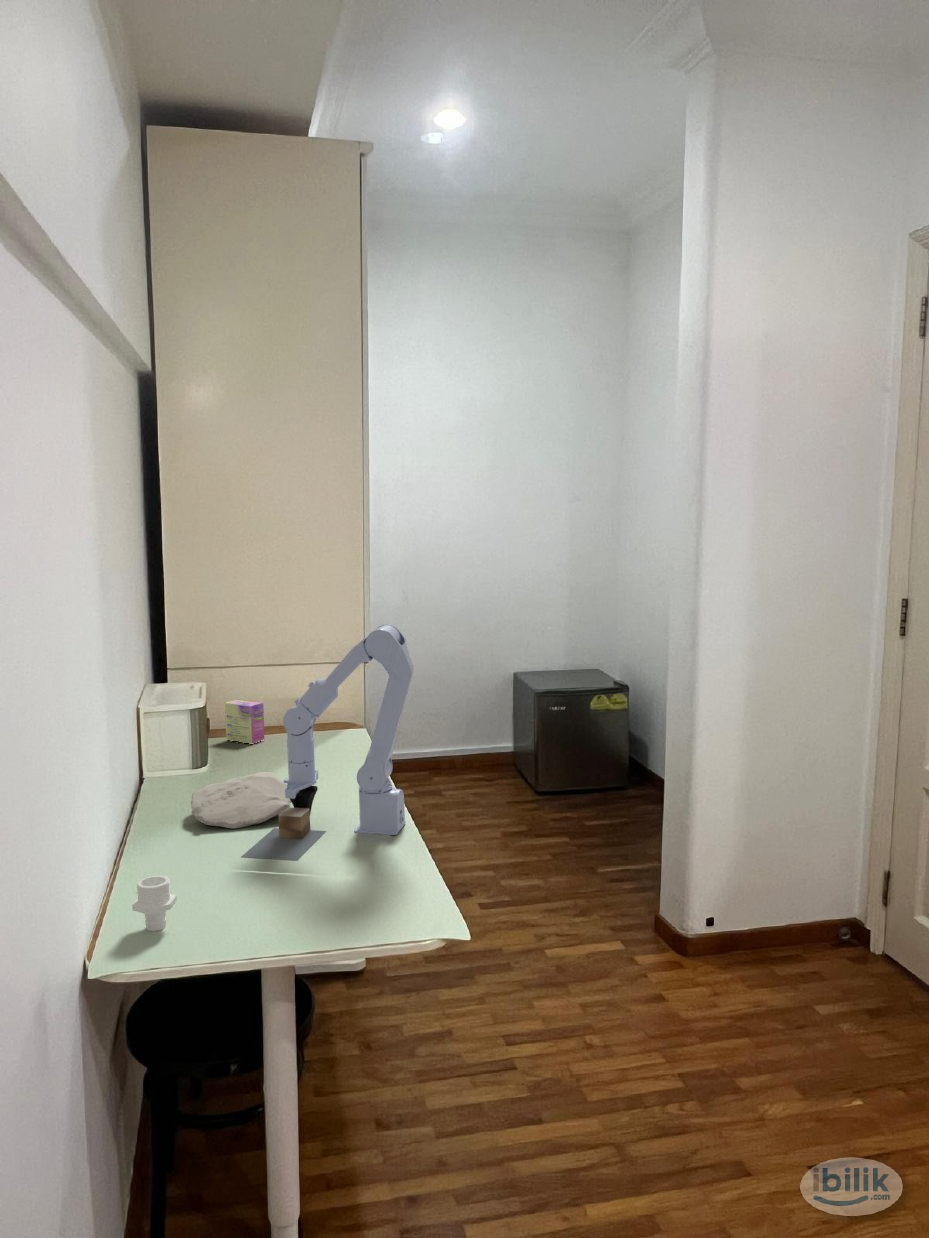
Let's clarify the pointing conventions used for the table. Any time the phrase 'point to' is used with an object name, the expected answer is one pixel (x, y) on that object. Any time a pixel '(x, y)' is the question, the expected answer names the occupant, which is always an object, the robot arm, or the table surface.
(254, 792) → the rock
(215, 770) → the table surface
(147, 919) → the pipe fitting
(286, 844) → the mat
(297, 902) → the table surface
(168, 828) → the table surface
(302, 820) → the cube
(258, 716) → the box
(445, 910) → the table surface
